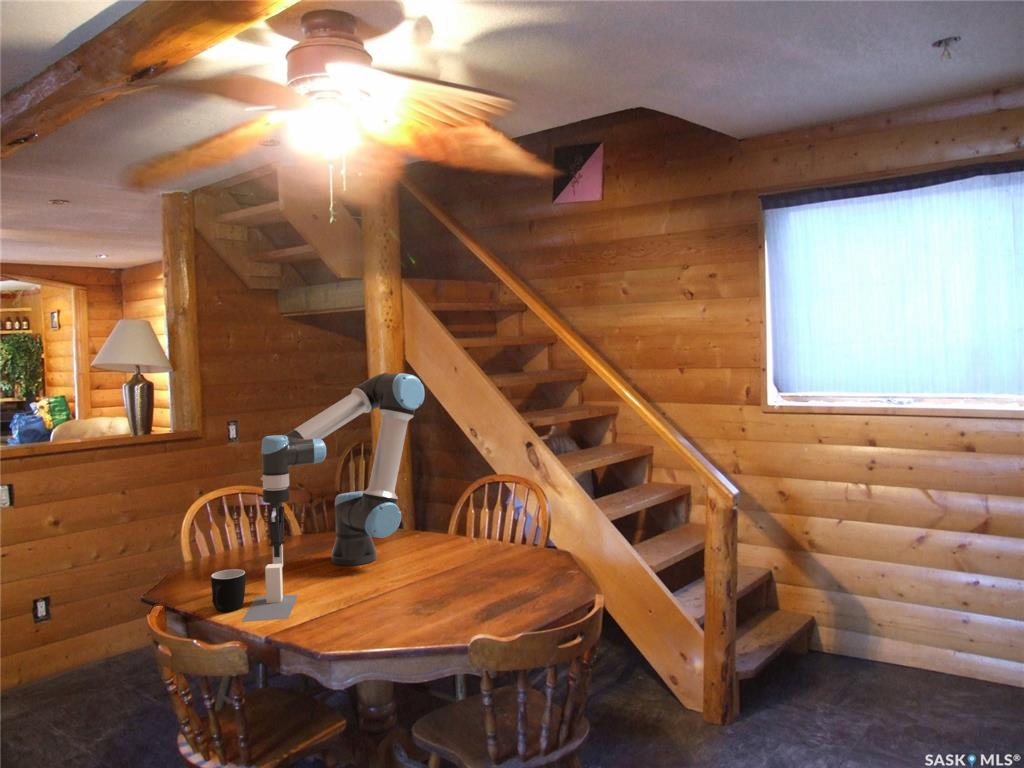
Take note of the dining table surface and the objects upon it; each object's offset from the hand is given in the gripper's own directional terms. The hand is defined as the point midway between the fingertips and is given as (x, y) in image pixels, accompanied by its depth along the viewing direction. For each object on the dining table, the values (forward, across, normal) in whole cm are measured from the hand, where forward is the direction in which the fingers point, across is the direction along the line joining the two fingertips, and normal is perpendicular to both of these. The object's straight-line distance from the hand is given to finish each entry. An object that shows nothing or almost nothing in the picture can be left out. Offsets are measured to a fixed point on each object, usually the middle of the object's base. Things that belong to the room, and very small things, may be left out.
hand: (278, 566), depth 231 cm
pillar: (+7, +9, 0) cm, 11 cm away
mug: (+8, +15, -12) cm, 21 cm away
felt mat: (+8, +15, 0) cm, 17 cm away
